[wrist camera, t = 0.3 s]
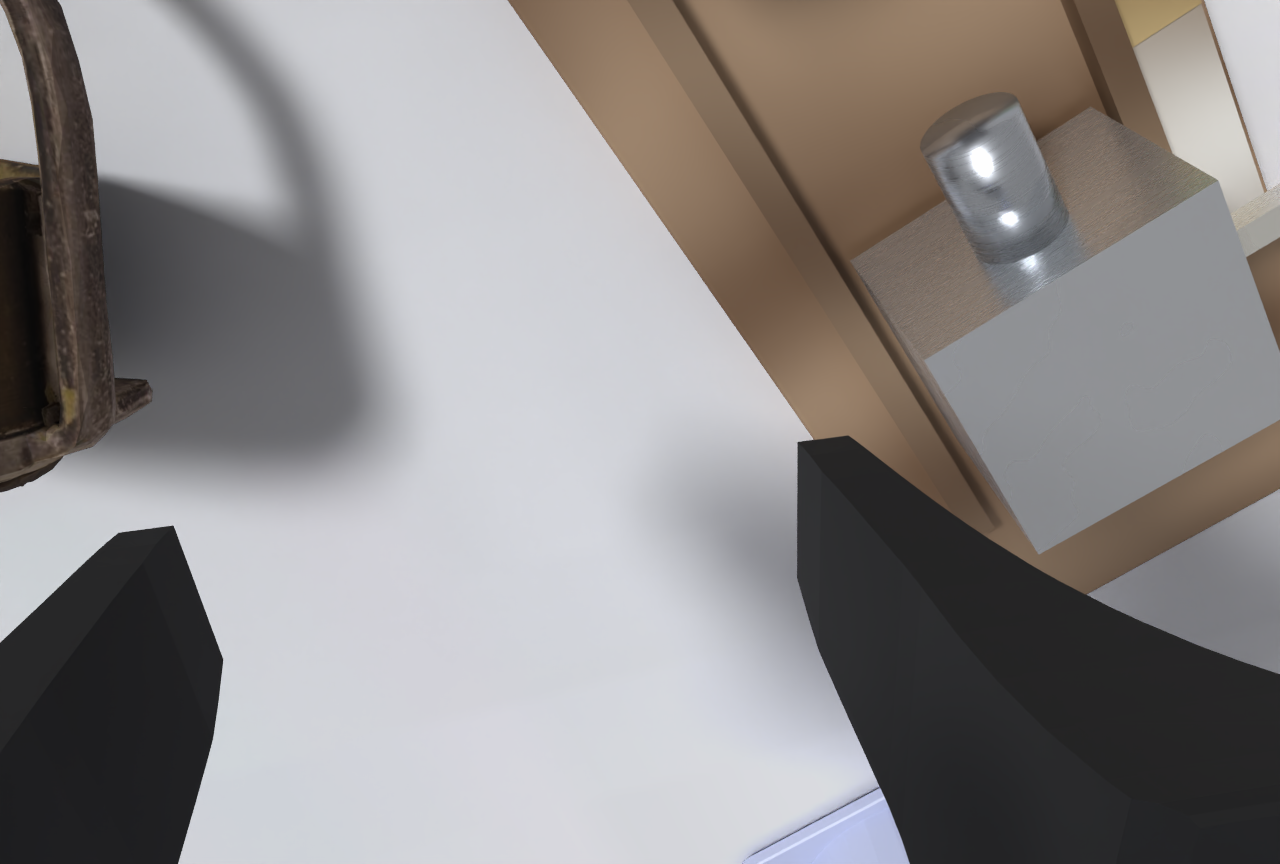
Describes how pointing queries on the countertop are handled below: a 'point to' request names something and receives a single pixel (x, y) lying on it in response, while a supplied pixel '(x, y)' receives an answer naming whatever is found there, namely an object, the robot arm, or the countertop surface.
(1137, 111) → the rail board
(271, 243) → the countertop surface
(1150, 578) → the countertop surface
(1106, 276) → the brushed steel box
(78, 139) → the mechanical counter
